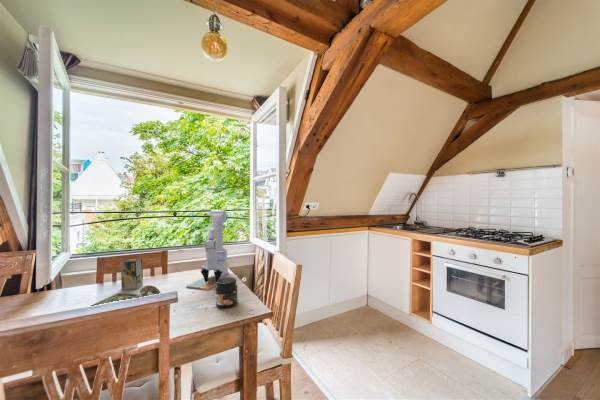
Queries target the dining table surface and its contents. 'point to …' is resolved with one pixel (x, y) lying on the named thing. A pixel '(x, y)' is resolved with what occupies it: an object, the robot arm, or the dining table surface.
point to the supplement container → (226, 292)
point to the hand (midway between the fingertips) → (212, 282)
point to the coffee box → (131, 274)
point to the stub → (209, 283)
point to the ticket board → (197, 284)
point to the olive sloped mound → (131, 295)
